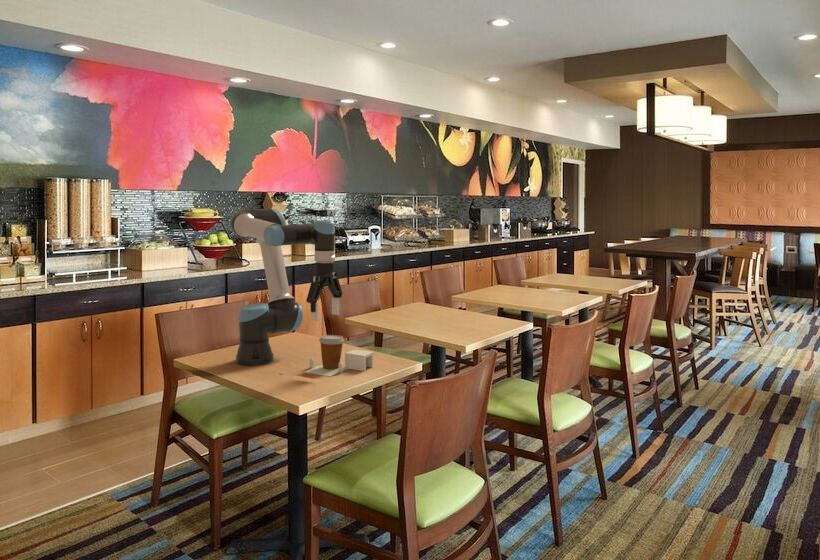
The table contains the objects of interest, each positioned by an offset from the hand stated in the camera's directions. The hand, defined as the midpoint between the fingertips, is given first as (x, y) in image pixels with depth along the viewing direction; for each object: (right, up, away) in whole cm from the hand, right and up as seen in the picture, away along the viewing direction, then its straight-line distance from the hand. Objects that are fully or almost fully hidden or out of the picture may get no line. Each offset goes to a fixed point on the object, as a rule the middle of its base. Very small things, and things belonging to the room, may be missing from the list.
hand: (325, 317), depth 239 cm
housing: (+13, -20, +7) cm, 25 cm away
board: (+4, -22, +5) cm, 23 cm away
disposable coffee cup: (+1, -20, +6) cm, 21 cm away
